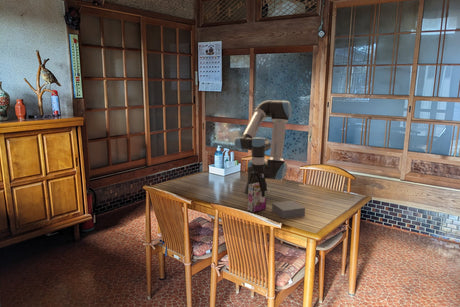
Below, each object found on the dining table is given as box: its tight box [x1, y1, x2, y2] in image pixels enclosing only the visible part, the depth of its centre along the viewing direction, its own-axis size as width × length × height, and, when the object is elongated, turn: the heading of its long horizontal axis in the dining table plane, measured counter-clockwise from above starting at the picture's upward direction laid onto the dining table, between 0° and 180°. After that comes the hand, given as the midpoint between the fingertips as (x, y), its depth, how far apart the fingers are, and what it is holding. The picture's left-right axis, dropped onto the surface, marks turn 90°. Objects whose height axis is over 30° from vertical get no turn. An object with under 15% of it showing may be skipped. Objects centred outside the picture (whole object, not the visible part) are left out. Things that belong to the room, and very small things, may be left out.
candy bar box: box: [247, 182, 268, 213], centre depth 210 cm, size 11×5×16 cm, turn 129°
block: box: [271, 200, 306, 219], centre depth 206 cm, size 14×14×5 cm
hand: (257, 198), depth 210 cm, fingers open, 13 cm apart
